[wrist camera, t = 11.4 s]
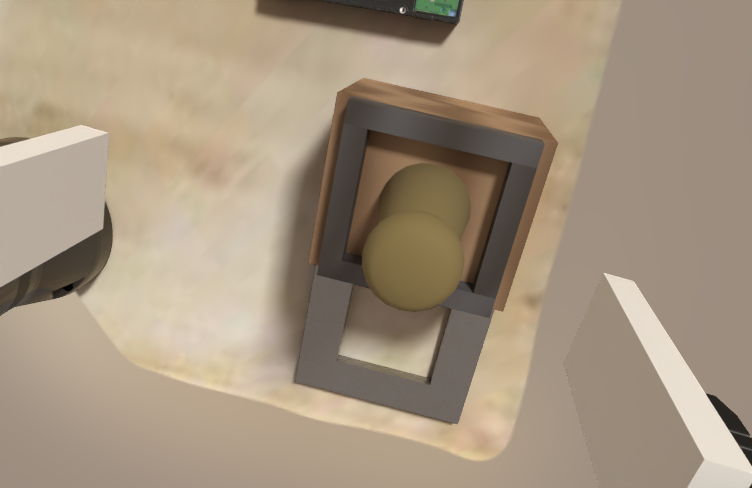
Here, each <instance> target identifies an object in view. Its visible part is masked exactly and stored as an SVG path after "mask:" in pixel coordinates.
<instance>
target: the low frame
mask: <svg viewBox="0 0 752 488" xmlns="http://www.w3.org/2000/svg"><path fill="white" fill-rule="evenodd" d="M317 270H318V265H316V267H315V272H314V278H313V284H312V289H311V295H310V301H309V306H308V312H307V318H306V323H305V329H304V335H303V340H302V346H301V352H300V357H299V363H298V369H297V374H296V380H295V382H298V383H302V384H306V385H310V386H314V387H318V388H321V389H325V390H329V391H333V392H337V393H340V394H344V395H348V396H352V397H356V398H359V399H363V400H367V401H371V402H375V403H378V404H382V405H386V406H390V407H394V408H397V409H401V410H405V411H409V412H413V413H416V414H420V415H424V416H428V417H432V418H435V419H439V420H443V421H447V422H451V423H454V424H458V422H459V419H460V416H461V412H462V409H463V406H464V403H465V400H466V397H467V394H468V390H469V387H470V384H471V381H472V378H473V375H474V372H475V369H476V365H477V362H478V359H479V356H480V353H481V350H482V347H483V343H484V340H485V337H486V334H487V331H488V328H489V325H490V322H491V318H492V315H493V312H494V309H492V312H491V315H490V318H486V317H482V316H478V315H474V314H470V313H466V312H462V311H458V310H454V309H451V310H450V314H449V317H448V321H447V324H446V328H445V331H444V335H443V338H442V342H441V345H440V349H439V352H438V356H437V359H436V363H435V366H434V370H433V373H432V377H431V379H430V378H426V377H422V376H418V375H414V374H410V373H406V372H403V371H399V370H395V369H391V368H387V367H383V366H379V365H375V364H372V363H368V362H364V361H360V360H356V359H352V358H348V357H345V356H341V355H339V351H340V346H341V341H342V337H343V332H344V327H345V322H346V317H347V313H348V308H349V303H350V298H351V293H352V288H353V284H351V283H347V282H343V281H339V280H335V279H331V278H327V277H323V276H319V275H317Z"/></svg>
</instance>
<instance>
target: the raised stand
mask: <svg viewBox="0 0 752 488" xmlns="http://www.w3.org/2000/svg"><path fill="white" fill-rule="evenodd" d="M557 145H558V142H557V141H556V140H555V138H554V137H553V136H552V134H551V133H550V132H549V130H548V129H547V128H546V126H545V125H544V123H543V122H542V121H541V119H540V118H538V117H533V116H529V115H525V114H520V113H516V112H511V111H507V110H503V109H498V108H494V107H489V106H485V105H481V104H476V103H472V102H467V101H463V100H458V99H454V98H450V97H445V96H441V95H436V94H432V93H428V92H423V91H419V90H414V89H410V88H406V87H401V86H397V85H392V84H388V83H383V82H379V81H375V80H370V79H366V78H363V79H361V80H359V81H358V82H356V83H354V84H352V85H350V86H348V87H347V88H345V89H343V90H341V91H339V92H337V97H336V103H335V109H334V115H333V121H332V126H331V132H330V138H329V144H328V150H327V156H326V162H325V167H324V173H323V179H322V185H321V191H320V197H319V203H318V208H317V214H316V220H315V226H314V232H313V238H312V244H311V249H310V255H309V261H308V263H310V264H314V265H318V270H317V275H319V276H323V277H327V278H331V279H335V280H339V281H343V282H347V283H351V284H355V285H359V286H363V287H367V288H370V287H369V286H368V284H367V282H366V279H365V275H364V272H363V268H362V253H363V248H364V246H365V243H366V241H367V239H368V236H369V234H370V233H371V231H372V230H373V229H374V228H375V227H376V226H377V225H378V224H379V213H380V196H381V194H382V191H383V189H384V187H385V184H386V183H387V182H388V181H389V179H390V178H391V177H392V176H393V175H394V174H395V173H396V172H398V171H399V170H401V169H403V168H404V167H406V166H409V165H414V164H418V163H430V164H437V165H440V166H442V167H445V168H447V169H449V170H451V171H452V172H453V173H454V174H455V175H457V176H458V177H459V178H460V179H461V180H462V182H463V184H464V185H465V187H466V189H467V190H468V193H469V197H470V202H471V211H470V219H469V221H468V224H467V226H466V228H465V231H464V233H463V235H462V238H461V240H460V242H461V246H462V250H463V254H464V266H463V275H462V278H461V280H460V282H459V284H458V286H457V288H456V290H455V291H454V292H453V293H452V294H451V295H450V296H449V297H448V298H447V299H446V300H445V301H444V302H443V303H441V304H439V305H438V306H442V307H446V308H450V309H454V310H458V311H462V312H466V313H470V314H474V315H478V316H482V317H486V318H490V315H491V312H492V309H495V310H499V311H503V310H504V307H505V304H506V301H507V298H508V295H509V292H510V289H511V286H512V282H513V279H514V276H515V273H516V270H517V267H518V264H519V261H520V258H521V255H522V252H523V249H524V246H525V243H526V240H527V237H528V233H529V230H530V227H531V224H532V221H533V218H534V215H535V212H536V209H537V206H538V203H539V200H540V197H541V194H542V191H543V188H544V184H545V181H546V178H547V175H548V172H549V169H550V166H551V163H552V160H553V157H554V154H555V151H556V148H557Z"/></svg>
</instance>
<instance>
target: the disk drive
mask: <svg viewBox="0 0 752 488" xmlns="http://www.w3.org/2000/svg"><path fill="white" fill-rule="evenodd" d="M320 1H324V2H331V3H336V4H342V5H348V6H354V7H360V8H366V9H372V10H378V11H383V12H390V13H395V14H401V15H406V16H413V17H416V18H421V19H427V20H436V21H442V22H448V23H454V24H457V23H459V21H460V16H461V11H462V6H463V1H464V0H320Z"/></svg>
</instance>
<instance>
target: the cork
mask: <svg viewBox="0 0 752 488" xmlns="http://www.w3.org/2000/svg"><path fill="white" fill-rule="evenodd" d="M470 211H471V202H470V197H469V193H468V190H467V189H466V187H465V185H464V184H463V182H462V180H461V179H460V178H459V177H458V176H457V175H455V174H454V173H453V172H452V171H451V170H449V169H447V168H445V167H442V166H440V165H437V164H430V163H418V164H414V165H409V166H406V167H404V168H403V169H401V170H399V171H398V172H396V173H395V174H394V175H393V176H392V177H391V178H390V179H389V181H388V182H387V183H386V184H385V187H384V189H383V191H382V194H381V196H380V213H379V224H378V225H377V226H376V227H375V228H374V229H373V230H372V231H371V233H370V234H369V236H368V239H367V241H366V243H365V246H364V248H363V253H362V268H363V272H364V275H365V279H366V282H367V284H368V286H369V287H370V289H371V290H372V291H373V293H374V294H375V295H376V296H377V297H378V298H379V299H381V300H382V301H383V302H384V303H386V304H387V305H390V306H392V307H394V308H397V309H399V310H405V311H414V312H416V311H422V310H428V309H431V308H433V307H435V306H437V305H439V304H441V303H443V302H444V301H445V300H446V299H447V298H448V297H449V296H450V295H451V294H452V293H453V292H454V291H455V290H456V288H457V286H458V284H459V282H460V280H461V278H462V275H463V266H464V254H463V250H462V246H461V242H460V240H461V238H462V235H463V233H464V231H465V228H466V226H467V224H468V221H469V219H470Z"/></svg>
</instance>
